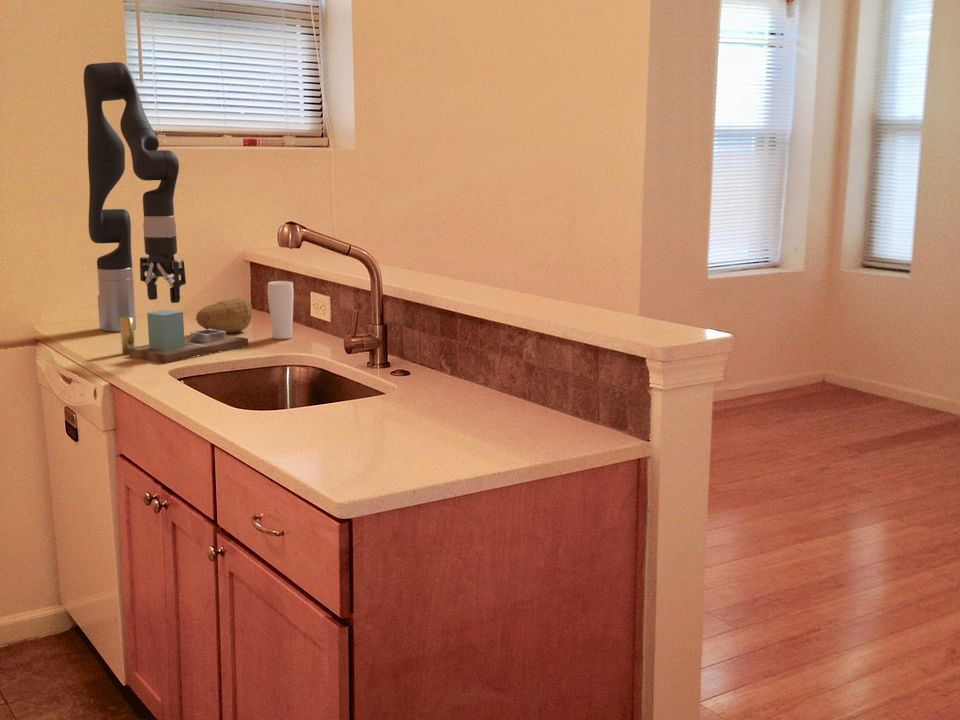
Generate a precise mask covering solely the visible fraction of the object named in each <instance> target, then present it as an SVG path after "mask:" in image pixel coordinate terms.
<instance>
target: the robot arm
mask: <svg viewBox="0 0 960 720" xmlns="http://www.w3.org/2000/svg"><path fill="white" fill-rule="evenodd" d="M83 87H84V90H83V91H84V98H85V107H86V120H87V168H88V181H89V182H88V184H89V187H88V188H89V198H88V199H89V200H88V201H89V204H88V224H87V225H88V226H87V227H88V235H89V237H90V240H91V241H92V242H93V243H95V244H118V246H117V247H116V248H115V249H114V250H113V251H111V252H109V253H107V254H103V255H101V256H99V257H97V260H96V269H97V270H96V271H97V280H98V281H97V283H98V295H97V307H98V309H97V310H98V319H99V329H101V331H104V332H121V325H120V318H121V317H133V329H134V330H136V329H137V319H136V317H137V316H136V300H135V286H134V273H133V272H134V271H133V258H132V257H133V256H132V255H133V254H132V224H131V216H130V213H129V211H128V210H127V209H123V208H113V209H112V208H111V209H110V208H108V209H106V208H105V209H103V207H104V205H105V202H106V199H107V198H108V196H109V194H110V193H111V192H112V190H113V189H114V187H115V186H116V185H117V184H118V182H119V181H120V180H121V178H122V176H123V175H124V173H125V170H126V148H125V144H124V142H123V140H122V138H121V137H120V136H119V134H118V133H117V131H116V130H115V129H114V128H113V127H112V125H111V124H110V123H109V121H108V119H107V118H106V115H105V113H104V111H103V102H108V101H109V102H111V101H120V100H123V101H124V102H125V106H124V107H125V108H124V109H123V113H122V115H121V118H120V125H119V126H120V132H121V135H122V136H123V139H124V141H125V142H126V144H127V146H128V148H129V150H130V155H131V162H132V163H131V164H132V169H133V174H134V175H135V176H136V177H137V178H138V179H140V180H141V181H160V182H159V185H158V186H157V188H155V189H151V190H147V191H145V192H144V193H143V195H142V206H143V207H142V211H143V225H142V226H143V241H144V254H146V255H147V256H141V257H140V258H139V274H140V276H139V277H140V281H141V282H145V285H146V288H147V289H146V291H147V299H148V300H149V301H152V300H154V301H155V300H157V299H158V286H157V282H158V279H159V278H164V280H165V281H167V284H168V285H169V287H170V288H169V298H170V302H171V304H177V303H180V300H181V290H180V288H181V287H182V286H183V285H186V284H187V282H186V281H187V280H186V279H187V278H186V269H185V261H184V260H183V259H177V260H176V259H175V255H176V254H177V253H178V245H177V244H178V243H177V241H178V240H177V227H176V226H177V225H176V220H175V208H174V197H175V195H174V194H175V190H176V185H177V182H178V181H177V180H178V176H179V170H180V162H179V158H178V157H177V155H176V154H175V153H174V152H173V151H171V150H165V149H164V150H163V149H161V150H158V149H159V146H160V142H159V138H158V136H157V135H156V133H155V131H154V129H153V127H152V125H151V124H150V122H149V119H148V118H147V115H146V113H145V111H144V107H143V103H142V100H141V98H140V94H139V92H138V89H137V86H136V83H135V81H134V77H133V75H132V73H131V71H130V70H129V67H128V66H127V65H126V64H125V63H123V62H118V61H115V62H97V63H89V64H87V65H86V66H85V67H84V70H83Z"/></svg>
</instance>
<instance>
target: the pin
mask: <svg viewBox="0 0 960 720" xmlns="http://www.w3.org/2000/svg"><path fill="white" fill-rule="evenodd" d="M120 325H121V331H120V337H121V350H122V351H121V352H122V353H121V354H122V355H129V348H132V347H136V346H135V329H133V317H121V318H120Z"/></svg>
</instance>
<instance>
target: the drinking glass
mask: <svg viewBox="0 0 960 720" xmlns="http://www.w3.org/2000/svg"><path fill="white" fill-rule="evenodd" d="M294 293H295V292H294V283H293V281H289V280H276V281H268V282H267V301H268V310H269V317H270V325H271V337H272V338H273V339H274V340H289V339H291V338H292V337H293V322H294V321H293V319H294V300H295V298H294V297H295V296H294Z"/></svg>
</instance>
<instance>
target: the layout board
mask: <svg viewBox="0 0 960 720" xmlns="http://www.w3.org/2000/svg"><path fill="white" fill-rule="evenodd" d="M184 340H185V347H183V348H178V349H173V350H168V351H162V350H157V349H151V348H149V343H148V344H145V345H139V346H135V347H132V348H129V357H132V358H136V359H137V358H138V359H143V360H146V361H147V360H148V361H154V362H158V363H164V364H169V363H174V362H179V361H183V359H184V360H188V359H187V358H189V359H191V358H190V357H193V356H197V355H203V354H208V355H210V354H209V353H213V354H216V353H215V352H218V353H220V352H219V351H223V352H225V351H224V350H227V351H229V350H228V349H232V350H234V349H233V348H237V349H239V348H238V347H242V346H247V345H248V346H249V338H247V337H240V336H235V335H229V334H227V333H226V331H220V330H214V329H202V330H201V329H200V330H194V331H190V332H189V336H186V337H185V336H184ZM248 346H247V347H248ZM242 348H243V347H242ZM203 356H204V355H203Z"/></svg>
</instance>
